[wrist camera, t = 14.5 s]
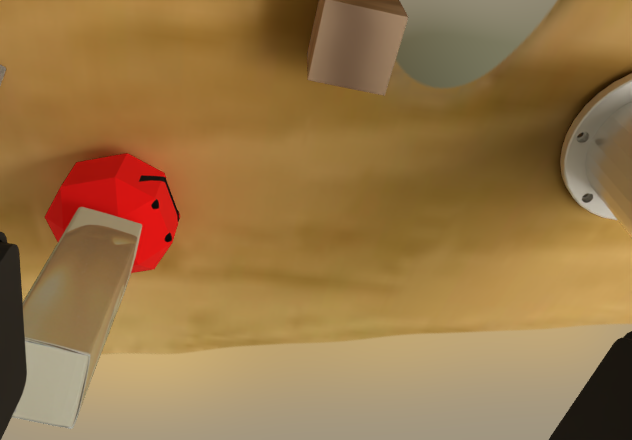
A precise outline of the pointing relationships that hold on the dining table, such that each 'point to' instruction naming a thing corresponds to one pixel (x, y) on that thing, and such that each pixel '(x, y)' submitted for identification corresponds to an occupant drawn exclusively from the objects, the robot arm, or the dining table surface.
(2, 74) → the skincare box
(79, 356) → the skincare box
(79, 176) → the ball
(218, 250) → the dining table surface
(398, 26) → the walnut block
